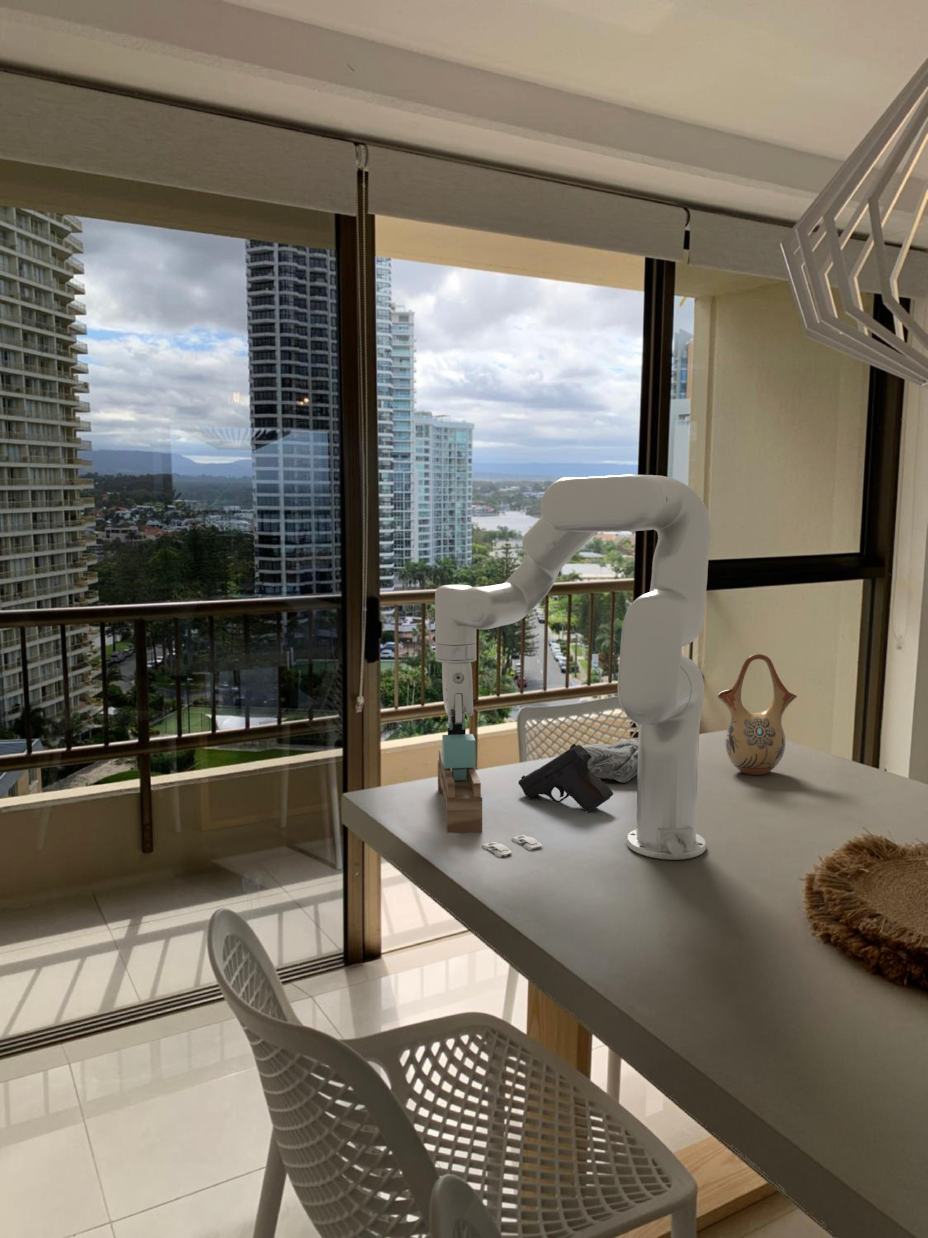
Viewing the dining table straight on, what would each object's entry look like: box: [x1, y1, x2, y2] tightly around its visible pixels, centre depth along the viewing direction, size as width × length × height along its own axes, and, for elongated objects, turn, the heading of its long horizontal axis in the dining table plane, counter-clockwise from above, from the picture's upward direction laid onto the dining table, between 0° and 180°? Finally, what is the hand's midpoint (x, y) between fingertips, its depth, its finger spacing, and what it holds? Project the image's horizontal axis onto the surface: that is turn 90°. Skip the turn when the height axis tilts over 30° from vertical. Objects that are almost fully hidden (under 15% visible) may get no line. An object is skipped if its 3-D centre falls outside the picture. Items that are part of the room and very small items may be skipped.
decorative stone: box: [581, 738, 638, 783], centre depth 189 cm, size 15×14×10 cm
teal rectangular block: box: [441, 733, 477, 780], centre depth 166 cm, size 4×6×8 cm
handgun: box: [518, 743, 615, 813], centre depth 171 cm, size 4×16×12 cm
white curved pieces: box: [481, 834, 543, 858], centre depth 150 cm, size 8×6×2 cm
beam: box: [437, 748, 483, 834], centre depth 168 cm, size 24×6×8 cm, turn 5°
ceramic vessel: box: [716, 653, 798, 776], centre depth 189 cm, size 16×9×25 cm, turn 92°
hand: (456, 749), depth 171 cm, fingers closed
